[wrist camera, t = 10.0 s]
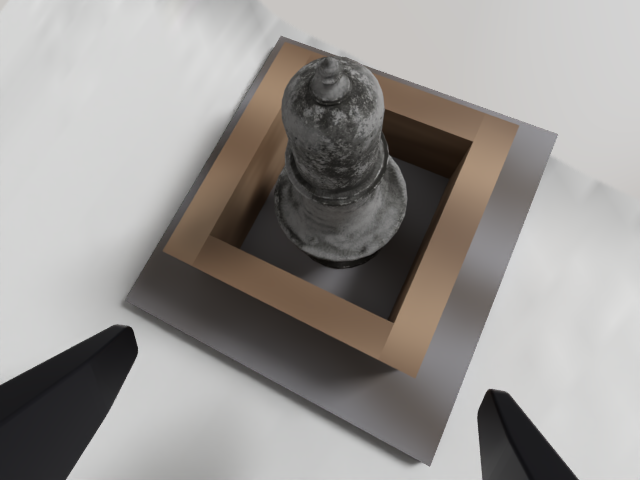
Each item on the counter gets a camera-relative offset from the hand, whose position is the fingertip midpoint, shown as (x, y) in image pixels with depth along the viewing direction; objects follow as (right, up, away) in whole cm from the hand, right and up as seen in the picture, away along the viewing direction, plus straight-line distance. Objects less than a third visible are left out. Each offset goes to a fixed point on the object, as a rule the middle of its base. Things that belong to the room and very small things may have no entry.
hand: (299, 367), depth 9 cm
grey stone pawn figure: (+2, +4, +11) cm, 12 cm away
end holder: (+2, +4, +11) cm, 12 cm away
